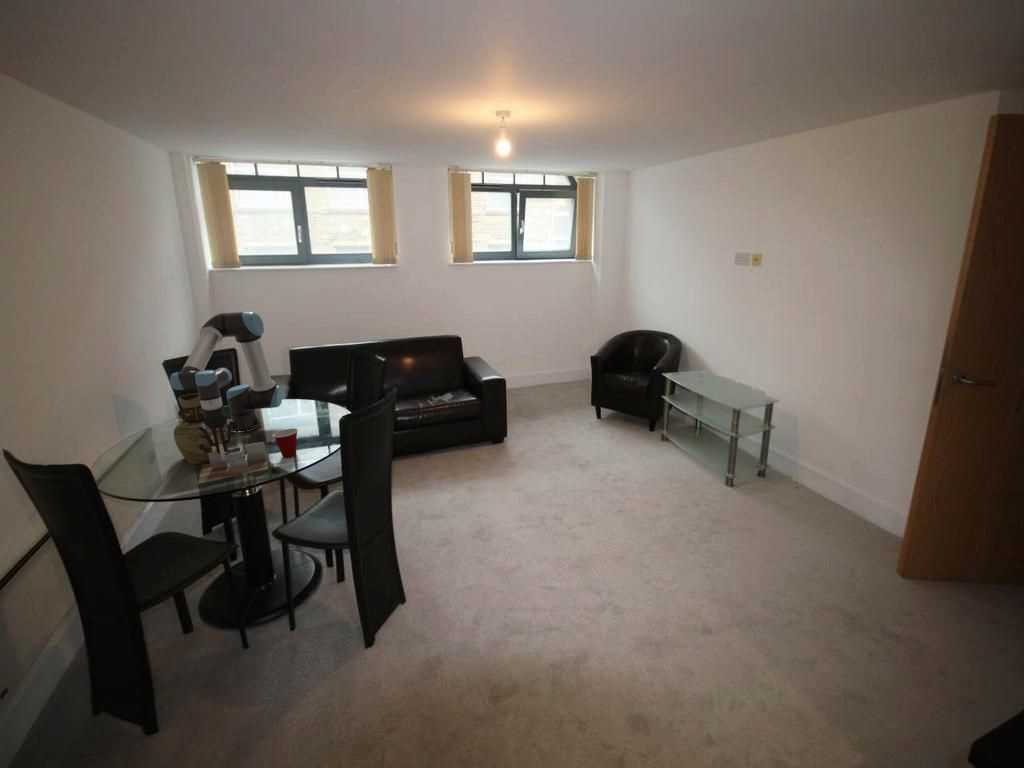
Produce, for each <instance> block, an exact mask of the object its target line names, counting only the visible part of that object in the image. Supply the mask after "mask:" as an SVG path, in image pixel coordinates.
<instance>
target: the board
mask: <svg viewBox="0 0 1024 768" xmlns="http://www.w3.org/2000/svg"><path fill="white" fill-rule="evenodd" d="M266 455H267V456H268V453H267V451H266ZM227 465H228V467H224V468H219V469H214V470H212V468H211V464H210V463H207V464H206V463H205V464H202V465H201V468H200V473H199V477H198V483H197V484H198V485H200V484H204V483H205V484H206V483H210V482H213V481H218V480H223V479H227V478H232V477H237V476H242V475H245V474H246V475H247V474H250V473H251V474H252V473H255V472H260V471H265V470H268V469H269V465H268V458H267V459H265V460H260V461H256V462H251V463H249V468H245V469H241V470H236V471H231V467H230V463H227Z"/></svg>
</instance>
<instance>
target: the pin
mask: <svg viewBox="0 0 1024 768" xmlns="http://www.w3.org/2000/svg"><path fill="white" fill-rule="evenodd" d="M210 436H211V438H212V440H213V442H215V441H214V437H213V435H210ZM217 436H218V435H217ZM218 440H219V439H218ZM219 445H220V443H219ZM212 451H213V452H215V451H217V449H216V447H215V446H212Z"/></svg>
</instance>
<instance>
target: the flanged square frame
mask: <svg viewBox="0 0 1024 768" xmlns="http://www.w3.org/2000/svg"><path fill="white" fill-rule="evenodd" d="M244 455H245V454H244V448H243V446H242V445H241V446H237V447H231V448H227V452H225V459H226V460H223V461H222V458H221V453H217V451H215V452H210V453H208V456H209V460H210V461H209V464H211V468H212V470H214V469H219V468H224V467H228V465H227V463H230V462H235V461H240V460H244Z"/></svg>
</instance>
